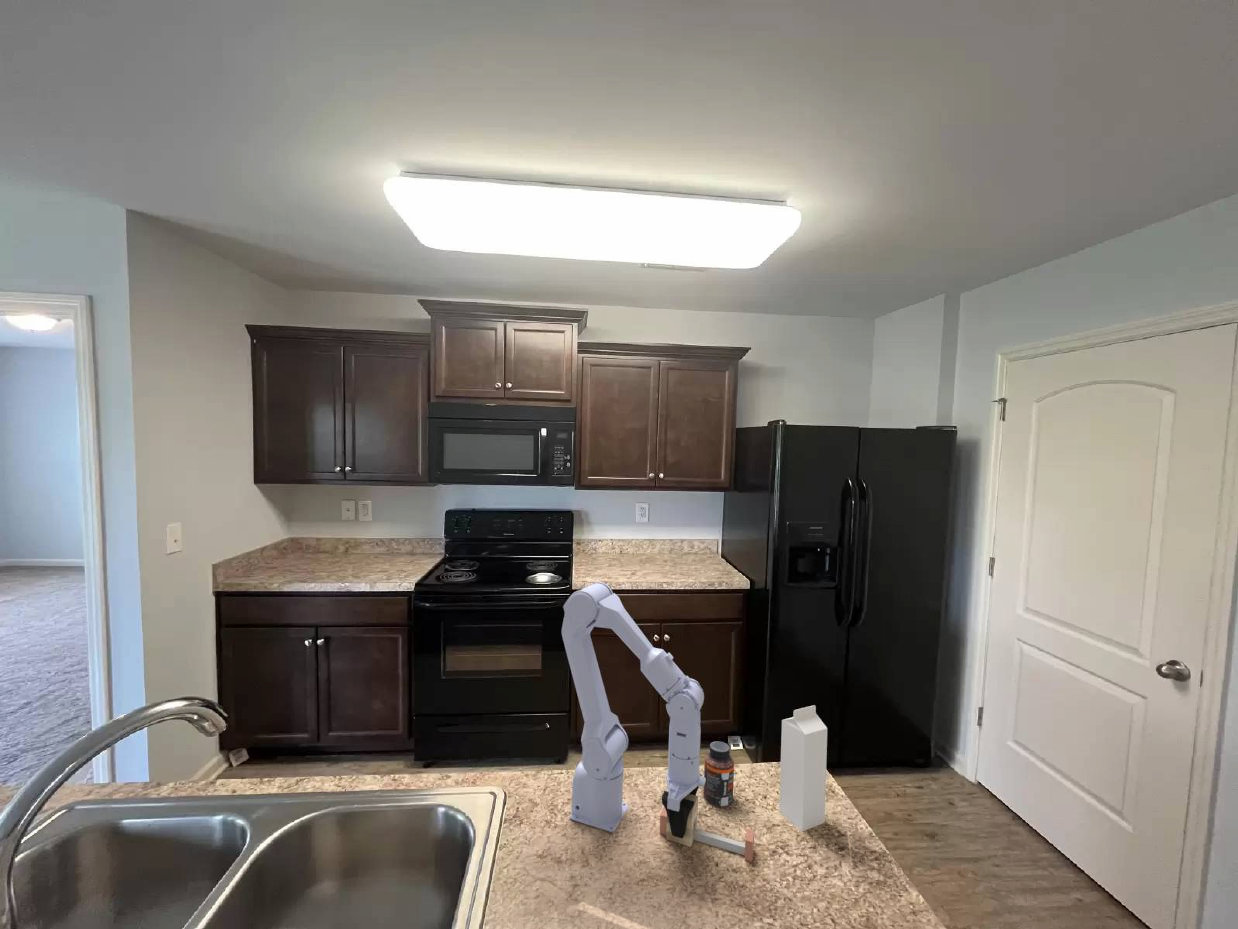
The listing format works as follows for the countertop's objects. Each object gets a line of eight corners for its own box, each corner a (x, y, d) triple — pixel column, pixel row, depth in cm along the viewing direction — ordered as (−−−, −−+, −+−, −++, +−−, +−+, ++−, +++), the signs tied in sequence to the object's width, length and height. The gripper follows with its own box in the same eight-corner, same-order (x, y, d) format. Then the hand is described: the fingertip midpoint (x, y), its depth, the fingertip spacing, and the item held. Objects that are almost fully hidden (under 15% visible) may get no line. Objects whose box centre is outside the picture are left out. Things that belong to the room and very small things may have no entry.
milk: (778, 816, 97) (781, 703, 97) (801, 807, 100) (803, 698, 100) (802, 837, 91) (805, 717, 92) (825, 827, 94) (828, 711, 95)
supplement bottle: (733, 814, 97) (735, 756, 97) (702, 809, 98) (704, 752, 98) (732, 795, 103) (734, 740, 103) (703, 790, 104) (705, 736, 104)
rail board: (653, 849, 87) (653, 825, 87) (666, 816, 96) (667, 795, 96) (751, 881, 81) (752, 855, 81) (756, 843, 89) (757, 820, 90)
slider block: (666, 839, 88) (667, 805, 89) (673, 821, 93) (674, 789, 93) (691, 847, 87) (692, 812, 87) (697, 828, 91) (698, 796, 91)
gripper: (697, 779, 82) (694, 861, 82) (713, 736, 95) (710, 807, 95) (656, 768, 85) (654, 848, 84) (677, 728, 98) (675, 797, 98)
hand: (681, 825), depth 90 cm, fingers closed on slider block, 5 cm apart
